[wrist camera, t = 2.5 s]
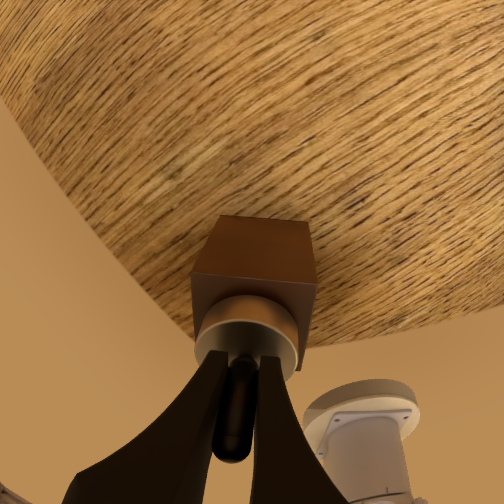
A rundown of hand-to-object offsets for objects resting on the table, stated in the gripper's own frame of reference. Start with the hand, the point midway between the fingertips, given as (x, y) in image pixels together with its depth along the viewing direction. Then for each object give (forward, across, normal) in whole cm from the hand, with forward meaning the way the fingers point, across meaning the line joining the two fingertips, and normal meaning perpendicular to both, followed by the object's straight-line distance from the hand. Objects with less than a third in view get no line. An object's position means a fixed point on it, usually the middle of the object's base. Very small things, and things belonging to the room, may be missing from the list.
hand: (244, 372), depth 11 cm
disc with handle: (+2, 0, 0) cm, 2 cm away
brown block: (+9, 0, 0) cm, 9 cm away
